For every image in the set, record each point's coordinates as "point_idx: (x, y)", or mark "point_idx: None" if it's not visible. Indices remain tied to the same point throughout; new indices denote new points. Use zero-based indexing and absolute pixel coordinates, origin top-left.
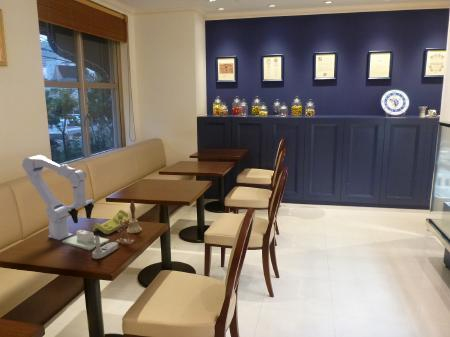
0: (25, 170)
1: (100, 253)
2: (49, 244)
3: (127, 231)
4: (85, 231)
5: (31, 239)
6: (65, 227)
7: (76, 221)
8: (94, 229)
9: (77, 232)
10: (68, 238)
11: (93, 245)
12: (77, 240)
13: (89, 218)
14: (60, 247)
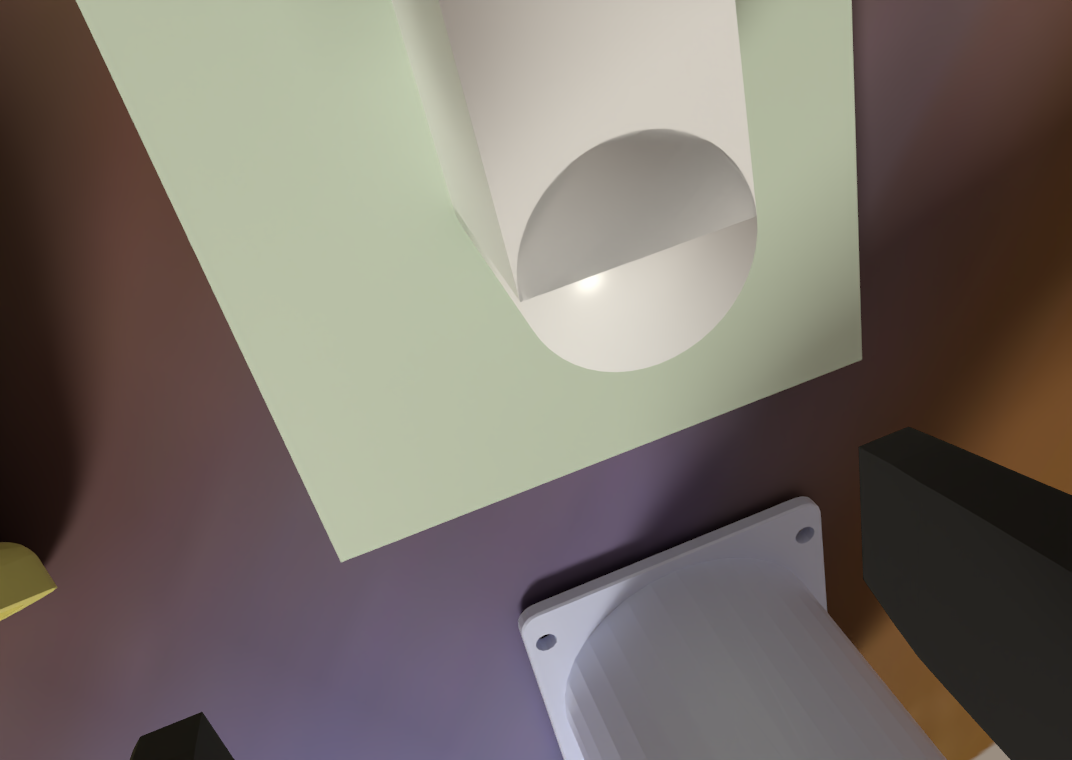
0: None
1: None
2: (997, 400)
3: None
4: (527, 95)
5: (983, 732)
6: (750, 734)
7: (988, 465)
8: (7, 550)
9: (749, 208)
10: (726, 401)
11: None
12: None
13: (197, 726)
14: (1008, 89)
